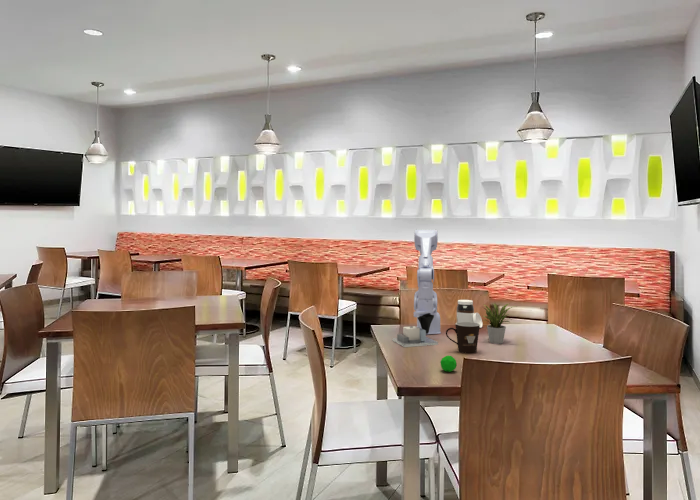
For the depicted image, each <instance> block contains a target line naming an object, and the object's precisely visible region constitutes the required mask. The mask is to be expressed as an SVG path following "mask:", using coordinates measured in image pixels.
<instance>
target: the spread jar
mask: <svg viewBox="0 0 700 500" xmlns="http://www.w3.org/2000/svg"><path fill="white" fill-rule="evenodd" d="M458 322H473V323H478V324H480V328H479V329H481V328H483V321H482V316H481V315H480V313H479V312H475V307H474V300H471V299H458V300H457V306H456V323H458Z"/></svg>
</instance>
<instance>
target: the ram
mask: <svg viewBox="0 0 700 500" xmlns="http://www.w3.org/2000/svg"><path fill="white" fill-rule="evenodd" d="M418 328H419V327H418ZM426 337H427V334H426V330H424V329H421V328H420V339H421V341H426Z"/></svg>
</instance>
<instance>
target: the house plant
mask: <svg viewBox="0 0 700 500" xmlns="http://www.w3.org/2000/svg"><path fill="white" fill-rule="evenodd" d="M482 305H483V306H484V307H483V306H482V308H483V309H484V310H485V314H486V315H482V317H484V318H486V319H485V321H486V322H488V323H489V324H487V325H486V326H487V327H486V329H487V336H488V340H489V341H488V342H489V343H491V344H496V345H500V344H503V343H504V340H505V339H504V338H505V333H506V328H507V327H506V325H502V324H503V323H506V322H508V323H510V321H509V320H511V318H509V317H508V318H507V316H508V314H507V312H508V311H509V310H510V309H511V308H517V307H518V306H516V305H513V306H511V307H509V308H508V307H507V306H508V305H509V303H507V304H505V305H503V306H502V307H501V309H500V312H499V307H498V305H497V304H496V302H494V303H493V309H492V310H491V308H489V306H487V305H486V304H484V303H483V304H482ZM485 307H486V308H485ZM487 319H488V320H489V321H488V320H487ZM483 321H484V319H483V320H482V322H483Z"/></svg>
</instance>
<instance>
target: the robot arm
mask: <svg viewBox="0 0 700 500" xmlns="http://www.w3.org/2000/svg"><path fill="white" fill-rule="evenodd" d="M413 233H414V238H413V239H414V240H413V241H414V248H415V250H416V251H419V254H420V255H419V257H418V265H417V267H418V269H417V272H416V280H417V287H418V288H417V290H416V291H415V293H414V297H413V310H414V311H413V318H416V327H419V328H421V329H424V330H426V335H436V334H437V335H438V334H439V335H440V334H442V332H441V315H440V313H439V312H438V294H437V292H436V291H434V282H435V269H434V257H433V256H432V254H433V252H434V251H436V250H437V247H438V239H439V237H438V230H437V229H417V228H416V229H415V230H414V232H413Z"/></svg>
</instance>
